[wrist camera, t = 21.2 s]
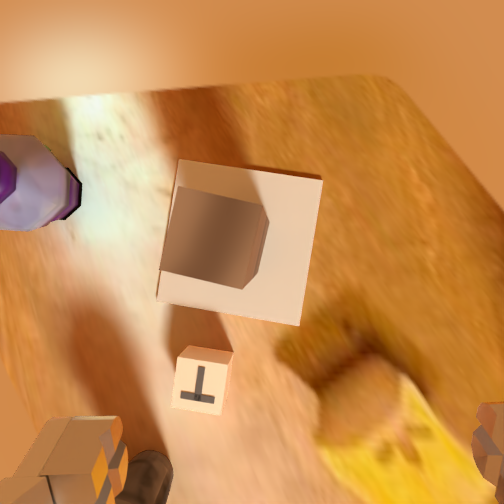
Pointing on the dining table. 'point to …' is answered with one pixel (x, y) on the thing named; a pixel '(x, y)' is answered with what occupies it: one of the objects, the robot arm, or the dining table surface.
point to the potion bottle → (34, 185)
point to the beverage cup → (147, 480)
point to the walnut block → (214, 238)
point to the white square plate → (275, 248)
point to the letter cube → (202, 380)
